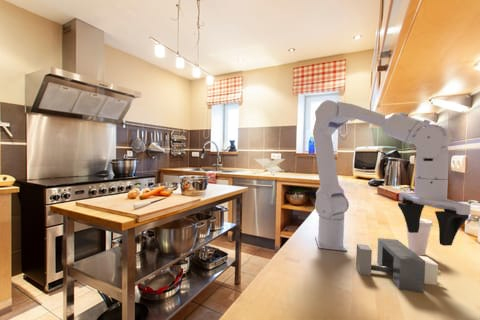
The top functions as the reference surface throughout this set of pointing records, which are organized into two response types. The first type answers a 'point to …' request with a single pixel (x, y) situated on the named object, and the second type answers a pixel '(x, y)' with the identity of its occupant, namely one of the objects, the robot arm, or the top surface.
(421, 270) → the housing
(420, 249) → the smoothie
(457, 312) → the top surface
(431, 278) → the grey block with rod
